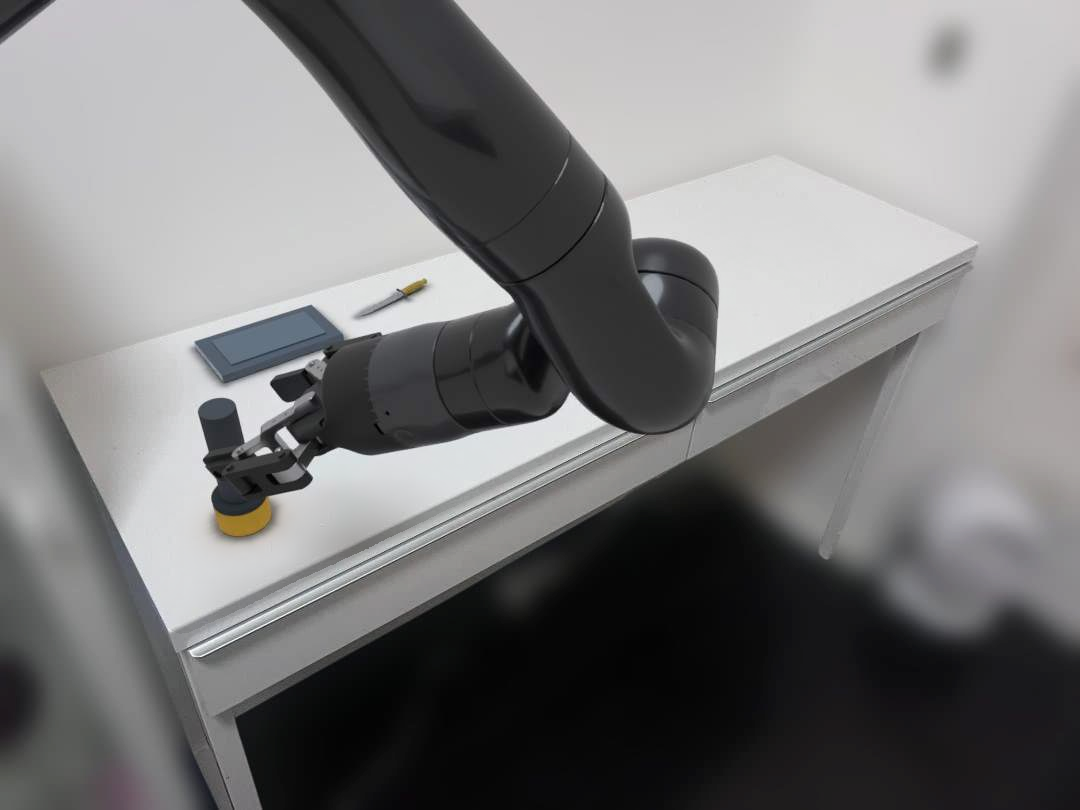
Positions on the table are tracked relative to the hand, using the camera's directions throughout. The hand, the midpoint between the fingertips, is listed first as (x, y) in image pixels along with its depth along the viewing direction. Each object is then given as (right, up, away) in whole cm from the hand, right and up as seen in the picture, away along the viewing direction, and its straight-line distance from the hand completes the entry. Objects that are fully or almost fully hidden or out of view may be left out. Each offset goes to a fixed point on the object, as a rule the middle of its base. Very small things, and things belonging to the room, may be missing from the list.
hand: (247, 426), depth 60 cm
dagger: (+4, +15, +40) cm, 43 cm away
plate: (-9, +8, +31) cm, 33 cm away
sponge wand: (-4, -8, +10) cm, 14 cm away
